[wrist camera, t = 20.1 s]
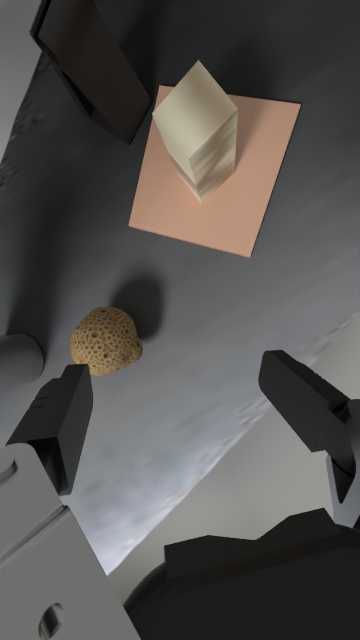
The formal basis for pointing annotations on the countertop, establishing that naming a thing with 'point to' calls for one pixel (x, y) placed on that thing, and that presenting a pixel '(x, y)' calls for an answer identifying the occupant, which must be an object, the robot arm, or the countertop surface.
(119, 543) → the countertop surface
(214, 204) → the terracotta tile
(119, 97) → the phone stand
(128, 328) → the natural sponge
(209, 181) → the maple block
